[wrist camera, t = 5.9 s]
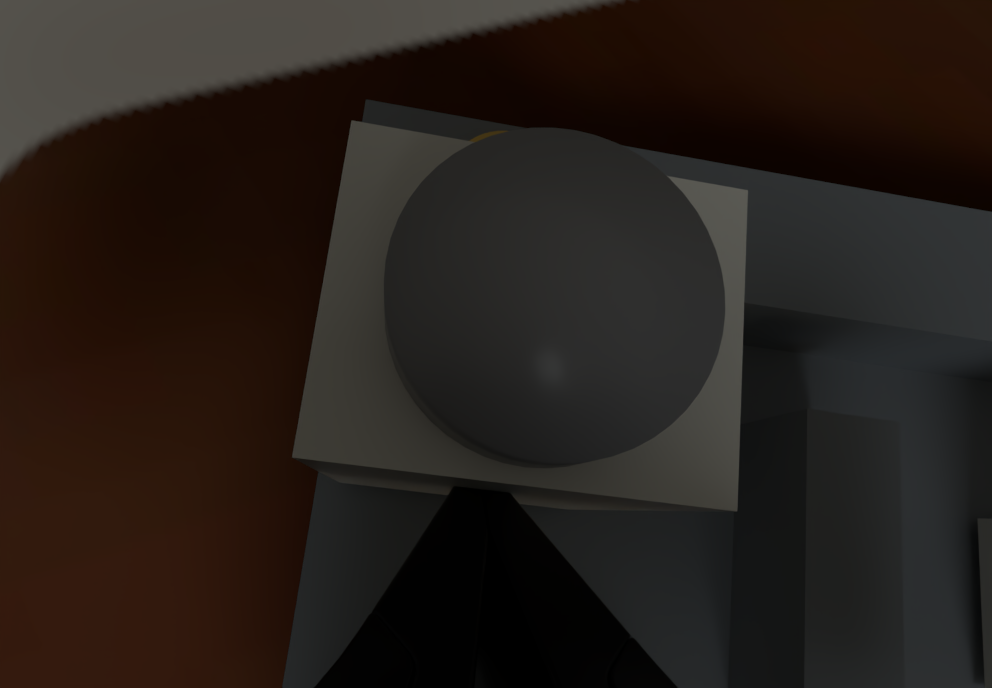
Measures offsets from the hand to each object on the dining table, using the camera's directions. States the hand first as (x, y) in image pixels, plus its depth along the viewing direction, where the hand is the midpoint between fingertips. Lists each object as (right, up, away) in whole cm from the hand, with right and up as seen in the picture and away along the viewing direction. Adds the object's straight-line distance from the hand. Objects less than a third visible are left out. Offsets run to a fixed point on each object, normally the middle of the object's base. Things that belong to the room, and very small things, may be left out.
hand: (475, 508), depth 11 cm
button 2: (0, +1, +5) cm, 5 cm away
